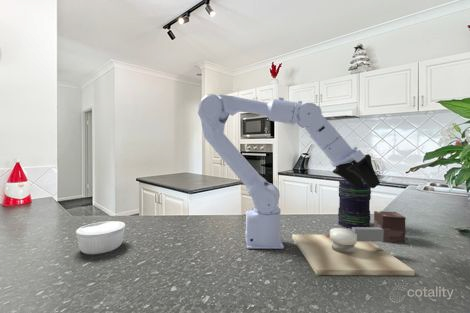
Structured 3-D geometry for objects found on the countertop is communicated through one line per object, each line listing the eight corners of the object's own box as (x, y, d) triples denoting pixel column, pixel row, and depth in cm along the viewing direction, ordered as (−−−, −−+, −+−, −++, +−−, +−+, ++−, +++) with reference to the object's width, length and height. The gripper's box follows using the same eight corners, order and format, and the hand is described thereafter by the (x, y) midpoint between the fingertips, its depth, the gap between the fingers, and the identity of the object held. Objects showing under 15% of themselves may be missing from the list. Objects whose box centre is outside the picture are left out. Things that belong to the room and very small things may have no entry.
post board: (316, 274, 48) (316, 260, 47) (292, 237, 68) (292, 227, 67) (414, 275, 48) (414, 260, 48) (361, 238, 68) (361, 228, 68)
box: (405, 243, 64) (406, 217, 64) (381, 242, 65) (382, 215, 65) (395, 235, 70) (395, 211, 70) (373, 234, 71) (373, 210, 71)
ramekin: (107, 236, 68) (107, 218, 68) (135, 243, 63) (135, 224, 63) (65, 251, 58) (65, 230, 58) (94, 261, 53) (94, 238, 53)
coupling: (336, 245, 54) (336, 232, 54) (326, 235, 60) (326, 224, 60) (389, 245, 55) (389, 232, 54) (374, 235, 61) (374, 224, 60)
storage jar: (344, 219, 87) (345, 179, 86) (374, 225, 79) (375, 181, 79) (332, 224, 80) (333, 181, 79) (363, 232, 73) (365, 184, 72)
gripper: (356, 126, 52) (399, 174, 50) (332, 138, 66) (364, 176, 65) (332, 145, 52) (374, 194, 50) (313, 154, 66) (345, 192, 65)
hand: (367, 185), depth 57 cm, fingers open, 7 cm apart
